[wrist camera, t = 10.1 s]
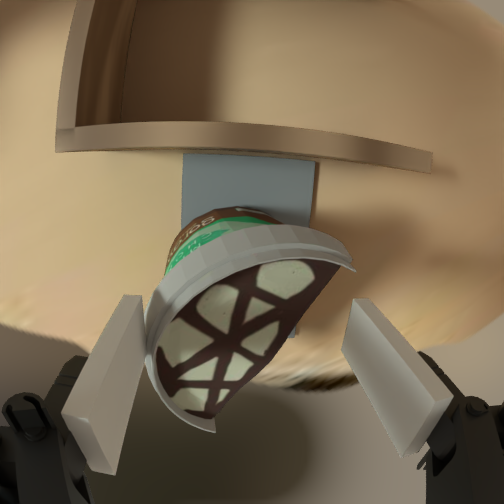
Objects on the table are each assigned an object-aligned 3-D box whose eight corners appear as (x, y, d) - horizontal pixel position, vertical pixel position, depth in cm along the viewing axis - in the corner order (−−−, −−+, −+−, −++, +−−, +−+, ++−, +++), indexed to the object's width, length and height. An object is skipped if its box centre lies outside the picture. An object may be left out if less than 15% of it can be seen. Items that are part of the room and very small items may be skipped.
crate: (103, 151, 19) (55, 152, 13) (132, -35, 14) (108, -80, 8) (376, 165, 21) (430, 173, 14) (376, -14, 16) (417, -49, 10)
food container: (209, 150, 18) (242, 175, 9) (285, 199, 21) (364, 260, 12) (122, 300, 21) (102, 407, 12) (193, 331, 23) (210, 437, 15)
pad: (184, 333, 24) (183, 336, 24) (184, 153, 20) (183, 153, 19) (293, 335, 25) (294, 337, 25) (313, 161, 21) (315, 161, 20)
